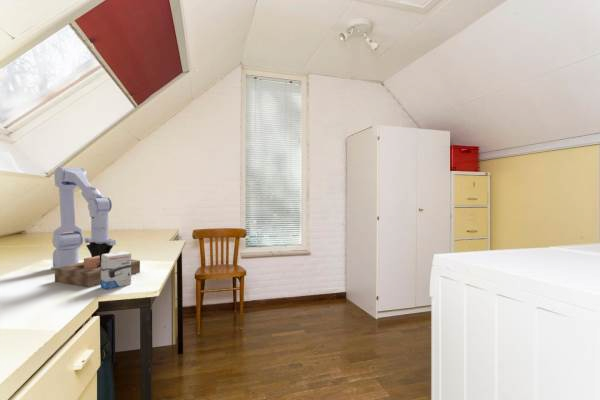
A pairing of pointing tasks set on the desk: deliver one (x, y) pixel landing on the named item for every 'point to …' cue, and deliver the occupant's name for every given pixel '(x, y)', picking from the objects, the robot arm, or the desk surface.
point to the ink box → (115, 269)
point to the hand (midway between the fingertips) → (99, 261)
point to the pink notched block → (91, 262)
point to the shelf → (85, 274)
